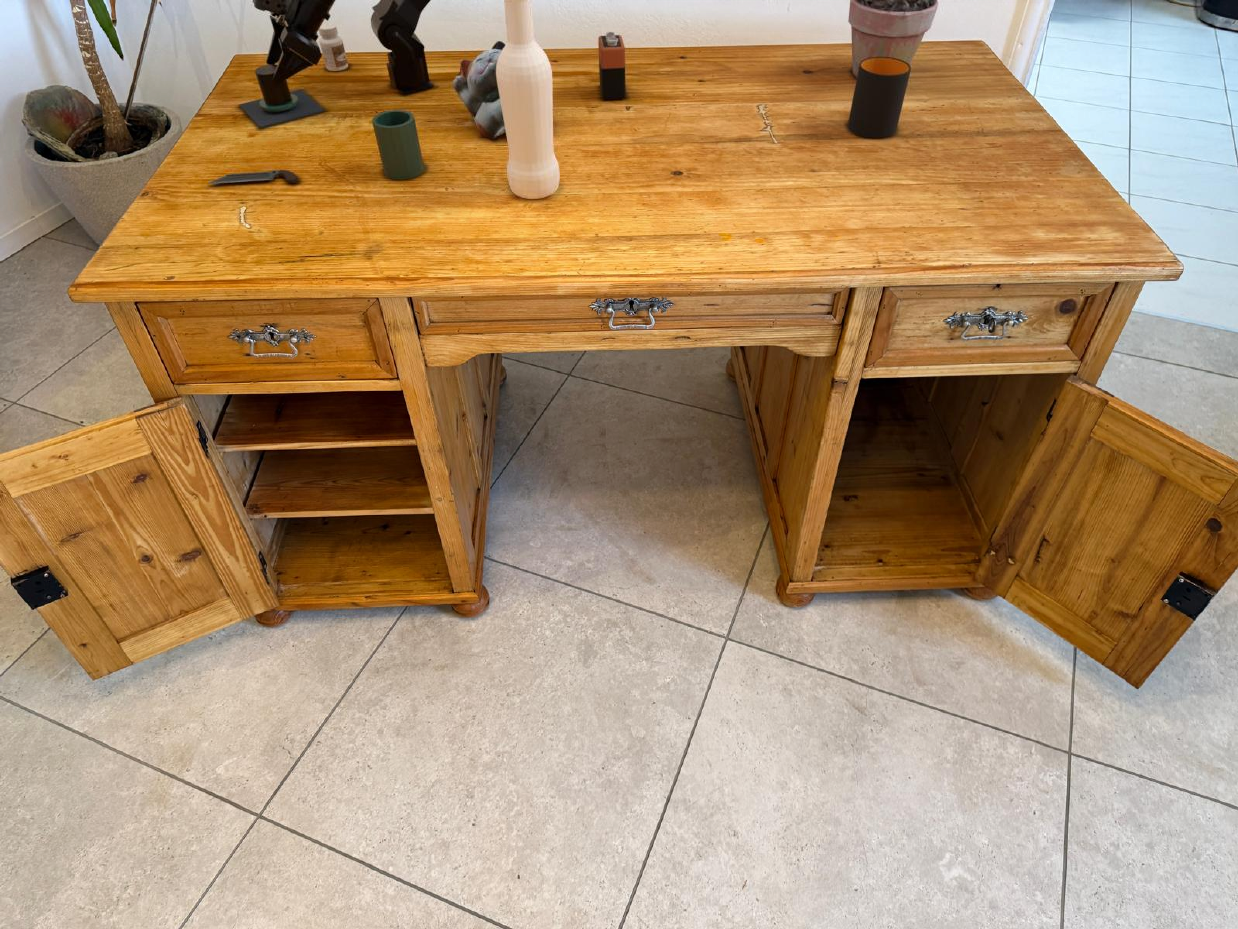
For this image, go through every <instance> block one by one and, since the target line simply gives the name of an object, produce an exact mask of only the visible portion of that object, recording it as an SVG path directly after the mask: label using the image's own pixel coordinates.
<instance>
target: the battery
mask: <svg viewBox="0 0 1238 929" xmlns="http://www.w3.org/2000/svg"><path fill="white" fill-rule="evenodd" d="M597 42H598V71H599V72H598V73H599V76H598V77H599V88H600V93H601V98H602V100H604V101H607V100H608V101H609V100H611V101H612V100H623V99H626V94H627V93H626V47H625V43H624V40H623V36H622V35H621V34H616V33H615V32H614V31H608V32H606V34H605V35H599V37H598V40H597Z"/></svg>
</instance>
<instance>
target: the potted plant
mask: <svg viewBox="0 0 1238 929" xmlns="http://www.w3.org/2000/svg"><path fill="white" fill-rule="evenodd" d="M938 7H939V1H938V0H849V7H848V8H849V9H848V18H847V19H848V20H847V22H848V23H849V25H850V28H851V66H852V69H851V70H852V74H853V76H854V77H855V78H857V74H858V69H859V64H860V62H861V61H862V60H864V59H867V58H870V57H892V58H897V59H900V60H903V61H905V62H907V63H908V64H909V65H910V66H911V64H912V61H913V60H914V58H915V55H916V53H917V51H918V49H919V47H920V45H921V43H922V41H923V38H924V36H925V33H928V31H930V29H931V27H932V25H933V23H934V19H935V15H936V13H937V10H938Z"/></svg>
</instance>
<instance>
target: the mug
mask: <svg viewBox="0 0 1238 929" xmlns="http://www.w3.org/2000/svg"><path fill="white" fill-rule="evenodd" d="M911 70H912V67H911V64H910V65H909V64H908V63H907V62H905V61H903V60H900V59H897V58H892V57H870V58H867V59H864V60H862V61H861V62H860V64H859V69H858V74H857V77H856V78H855V85H854V90H853V94H852V100H851V106H850V110H849V115H848V116H849V117H848V121H847V129H848V130H849V131H850V132H851V133H852V134H854V135H856V136H858V137H862V138H866V139H874V140H875V139H876V140H879V139H885V138H889V137H892V136H894V135H895V133H897V130H898V126H899V121H900V117H901V113H902V108H903V104H904V101H905V96H906V91H907V87H908V83H909V79H910V75H911Z"/></svg>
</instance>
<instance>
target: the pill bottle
mask: <svg viewBox="0 0 1238 929" xmlns="http://www.w3.org/2000/svg"><path fill="white" fill-rule="evenodd" d="M318 33H319V36H320V38H319V47H320V51H321V54H322V57H323V61H324V66H325V69H326V70H328V71H329V72H340V71H344V70H346V69H347V68H348V67H349V61H348V58H347V53H346V50H345V45H344V41H343V38H342V37H341V36H340V35H338V34H339V32H338V28H337V25H336V24H335V23H331V22H328V23H322V25H321V27H320V28H319V30H318Z"/></svg>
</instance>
